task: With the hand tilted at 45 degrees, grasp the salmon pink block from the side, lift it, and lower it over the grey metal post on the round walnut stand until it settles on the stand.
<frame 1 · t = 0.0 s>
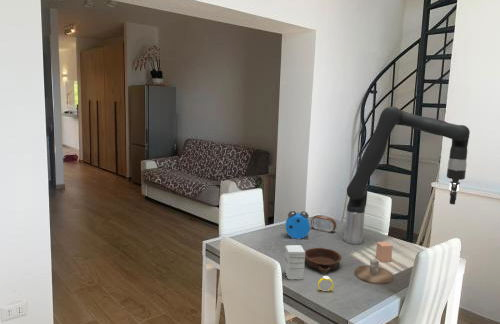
hand: (452, 202, 179), 29 cm above the table, tool pointing down, fingers open, 8 cm apart
copper desk clock: (322, 231, 222), on the table
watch: (325, 291, 151), on the table
supplement box: (293, 276, 164), on the table
post stand: (373, 275, 166), on the table
dish: (321, 265, 176), on the table
salmon pink block: (383, 259, 183), on the table
alarm clock: (297, 237, 210), on the table
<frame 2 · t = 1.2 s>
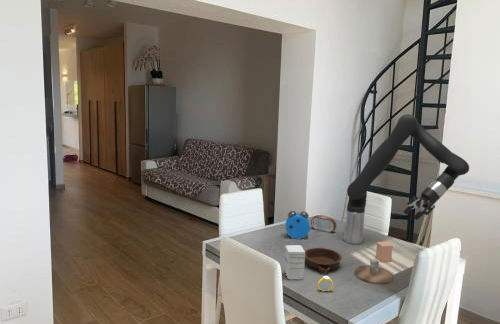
hand: (409, 215, 181), 22 cm above the table, tool tilted 45°, fingers open, 8 cm apart
nothing on the table moved.
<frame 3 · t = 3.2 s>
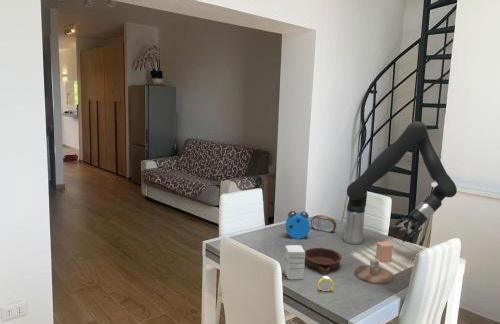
hand: (397, 237, 182), 11 cm above the table, tool tilted 45°, fingers open, 8 cm apart
nothing on the table moved.
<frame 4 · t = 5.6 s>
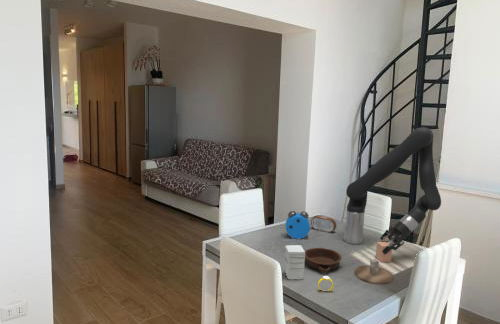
hand: (380, 250, 182), 5 cm above the table, tool tilted 45°, fingers closed on salmon pink block, 5 cm apart
salmon pink block: (383, 259, 183), on the table, touching gripper
everything else where it was.
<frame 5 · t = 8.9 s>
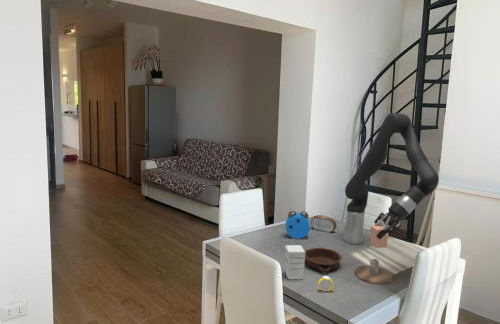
hand: (374, 235, 163), 18 cm above the table, tool tilted 45°, fingers closed on salmon pink block, 5 cm apart
salmon pink block: (378, 245, 164), point 14 cm above the table, touching gripper
everything else where it was.
when the fingers open (7 cm above the table, at t = 12.2 s): salmon pink block drops 1 cm, resting on post stand.
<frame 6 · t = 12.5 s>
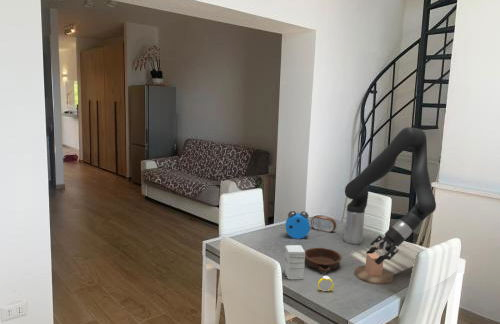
hand: (371, 259, 164), 8 cm above the table, tool tilted 45°, fingers open, 8 cm apart
salmon pink block: (373, 273, 166), point 1 cm above the table, touching post stand
everything else where it was.
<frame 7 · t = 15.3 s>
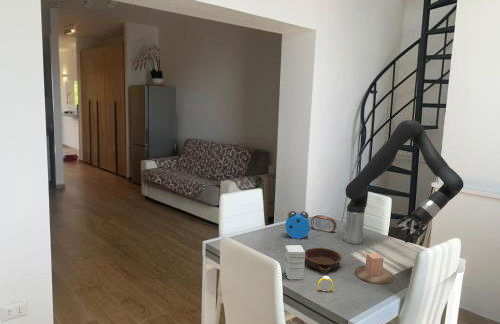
hand: (399, 237, 165), 17 cm above the table, tool tilted 45°, fingers open, 8 cm apart
nothing on the table moved.
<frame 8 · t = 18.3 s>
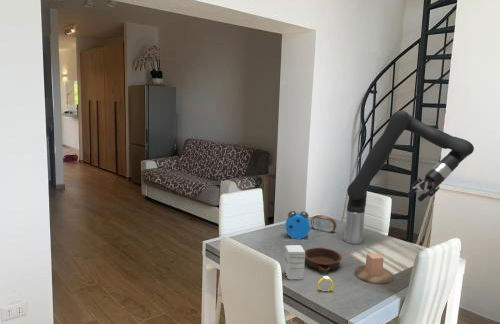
hand: (413, 198, 179), 31 cm above the table, tool tilted 45°, fingers open, 8 cm apart
nothing on the table moved.
at the end: salmon pink block 0.2 cm from the post stand (horizontally); salmon pink block point 1.0 cm above the table; salmon pink block tilted 0° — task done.
